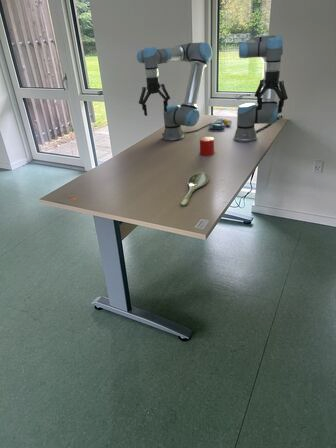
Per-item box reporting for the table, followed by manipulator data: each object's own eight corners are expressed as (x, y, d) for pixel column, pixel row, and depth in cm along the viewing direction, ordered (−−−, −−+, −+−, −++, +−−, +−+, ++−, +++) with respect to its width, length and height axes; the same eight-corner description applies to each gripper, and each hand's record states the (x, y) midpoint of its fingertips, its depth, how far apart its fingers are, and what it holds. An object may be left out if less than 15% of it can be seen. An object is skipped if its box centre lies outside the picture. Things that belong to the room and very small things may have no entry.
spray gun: (234, 122, 269) (216, 122, 275) (234, 117, 267) (216, 117, 273) (226, 131, 254) (207, 130, 260) (226, 125, 251) (207, 124, 258)
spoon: (193, 209, 156) (193, 205, 155) (172, 207, 159) (171, 203, 158) (212, 175, 182) (212, 172, 181) (193, 174, 186) (193, 170, 184)
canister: (205, 150, 220) (205, 136, 215) (216, 152, 215) (216, 138, 210) (197, 154, 215) (196, 139, 210) (208, 156, 209) (208, 142, 204)
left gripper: (135, 80, 190) (139, 118, 201) (174, 74, 198) (176, 111, 209) (130, 79, 196) (135, 115, 207) (168, 73, 204) (171, 109, 215)
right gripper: (249, 70, 186) (247, 109, 197) (288, 72, 169) (284, 115, 180) (257, 68, 189) (255, 107, 200) (297, 70, 172) (292, 112, 183)
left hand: (155, 113), depth 208 cm, fingers open, 13 cm apart
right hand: (269, 111), depth 190 cm, fingers open, 13 cm apart
